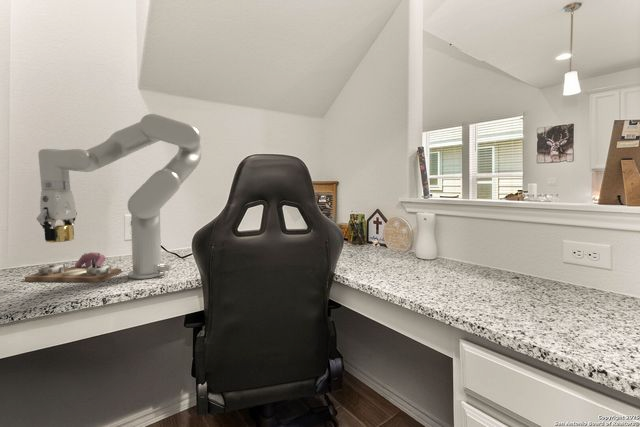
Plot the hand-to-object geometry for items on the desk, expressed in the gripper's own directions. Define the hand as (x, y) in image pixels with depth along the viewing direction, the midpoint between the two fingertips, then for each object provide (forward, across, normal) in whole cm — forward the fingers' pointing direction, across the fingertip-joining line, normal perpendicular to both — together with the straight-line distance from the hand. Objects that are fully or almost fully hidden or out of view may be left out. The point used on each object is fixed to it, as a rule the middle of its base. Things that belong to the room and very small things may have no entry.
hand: (60, 238), depth 108 cm
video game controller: (+16, +20, +4) cm, 26 cm away
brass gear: (+1, 0, 0) cm, 1 cm away
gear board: (+15, +6, 0) cm, 17 cm away
